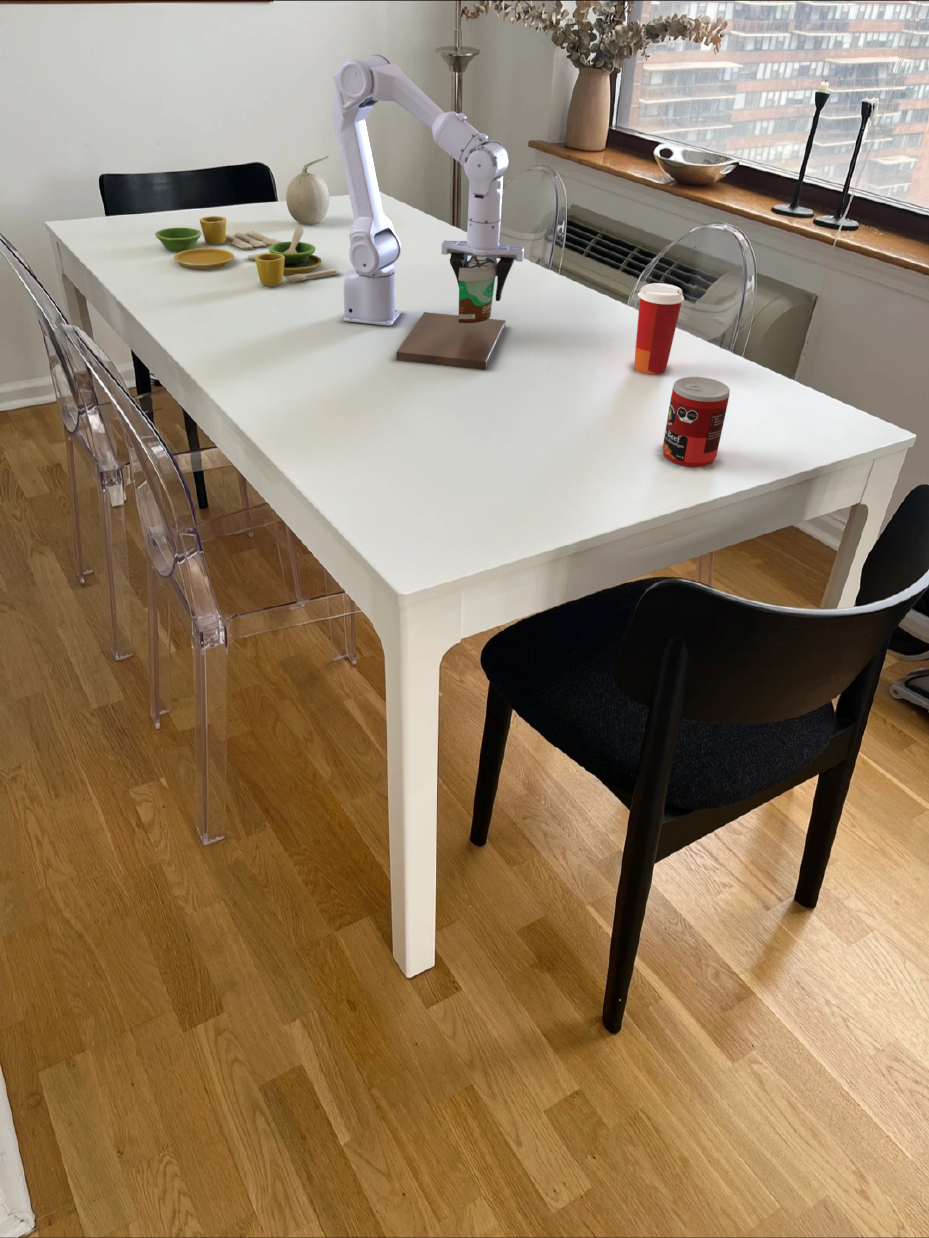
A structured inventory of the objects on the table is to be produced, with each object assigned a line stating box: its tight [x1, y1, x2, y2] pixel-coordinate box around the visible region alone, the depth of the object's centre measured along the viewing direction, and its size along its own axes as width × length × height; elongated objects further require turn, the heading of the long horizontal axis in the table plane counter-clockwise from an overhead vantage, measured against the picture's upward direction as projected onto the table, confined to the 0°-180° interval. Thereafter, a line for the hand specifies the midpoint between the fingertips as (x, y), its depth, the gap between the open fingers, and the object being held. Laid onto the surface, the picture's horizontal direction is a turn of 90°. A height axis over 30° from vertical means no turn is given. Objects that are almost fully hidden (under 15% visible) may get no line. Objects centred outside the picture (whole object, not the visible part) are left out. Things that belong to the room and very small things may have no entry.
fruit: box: [285, 155, 330, 225], centre depth 239 cm, size 10×12×15 cm
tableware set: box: [154, 215, 339, 287], centre depth 214 cm, size 41×28×6 cm
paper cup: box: [633, 282, 685, 375], centre depth 170 cm, size 8×8×14 cm
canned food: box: [662, 376, 731, 468], centre depth 143 cm, size 8×8×11 cm
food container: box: [458, 256, 499, 323], centre depth 177 cm, size 12×6×10 cm, turn 169°
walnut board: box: [395, 311, 507, 371], centre depth 180 cm, size 16×22×2 cm
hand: (480, 297), depth 178 cm, fingers closed on food container, 6 cm apart
